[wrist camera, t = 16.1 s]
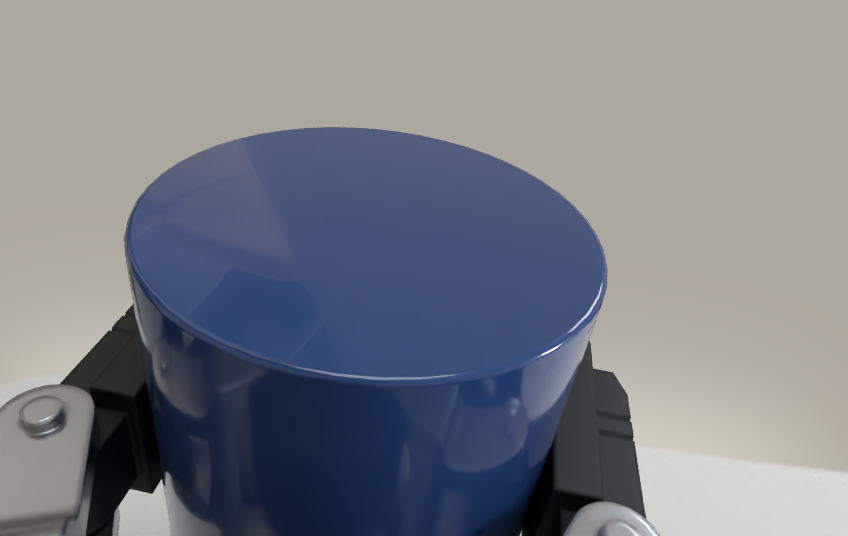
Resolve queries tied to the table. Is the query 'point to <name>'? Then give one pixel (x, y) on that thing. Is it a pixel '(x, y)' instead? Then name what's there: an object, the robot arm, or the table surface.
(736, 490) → the table surface
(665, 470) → the table surface
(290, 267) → the canister
